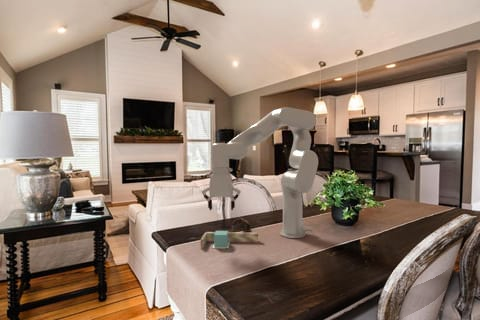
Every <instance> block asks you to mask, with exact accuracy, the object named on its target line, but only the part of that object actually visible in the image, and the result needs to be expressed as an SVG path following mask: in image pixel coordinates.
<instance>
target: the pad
mask: <svg viewBox="0 0 480 320" xmlns="http://www.w3.org/2000/svg"><path fill="white" fill-rule="evenodd" d="M230 244H231V242H228V245H227V247H214V244H213V245H212V247H211V248H212V249H226V248H228V249H229V247H230Z"/></svg>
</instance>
